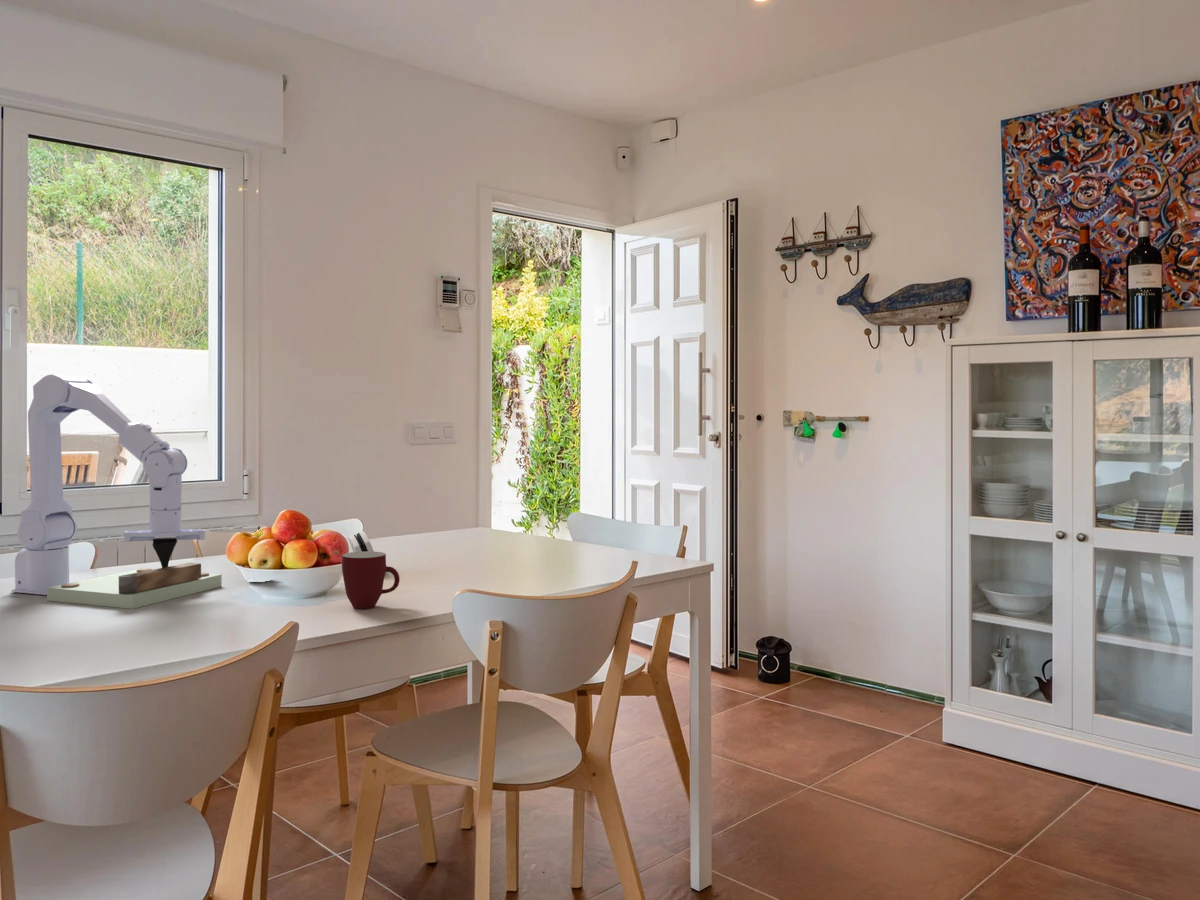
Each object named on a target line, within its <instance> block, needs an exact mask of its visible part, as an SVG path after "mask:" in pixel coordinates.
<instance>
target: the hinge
mask: <svg viewBox="0 0 1200 900" xmlns="http://www.w3.org/2000/svg"><path fill="white" fill-rule="evenodd" d="M347 539H348V542H349V545H350V548H351V549H352V552H363V551H373V552H375V551H374V549H373V546H372V543H371V541H370V539H369V537H368V535H367V534H366V533H365V531H363V530H362V531H358V532H357V533H356V534H351V535H349V536H348V537H347ZM388 573H389V572H386V573H385V575H388Z"/></svg>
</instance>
